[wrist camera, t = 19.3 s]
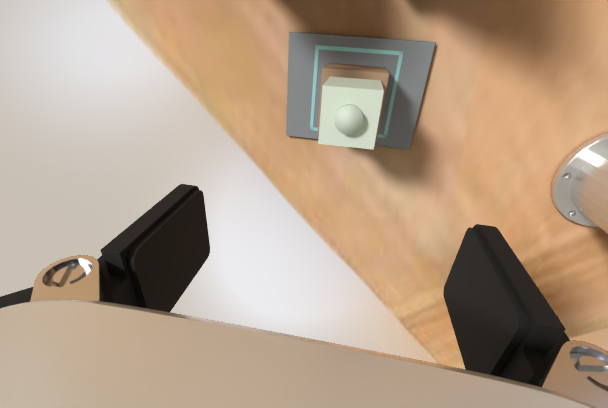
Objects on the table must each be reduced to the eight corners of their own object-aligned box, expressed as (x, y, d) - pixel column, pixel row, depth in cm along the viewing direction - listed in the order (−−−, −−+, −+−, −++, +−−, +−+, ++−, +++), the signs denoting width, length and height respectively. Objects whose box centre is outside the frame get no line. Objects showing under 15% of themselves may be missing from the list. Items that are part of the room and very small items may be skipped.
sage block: (380, 80, 30) (384, 91, 24) (372, 130, 32) (373, 152, 26) (329, 76, 30) (321, 86, 24) (325, 126, 33) (317, 146, 27)
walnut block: (385, 67, 34) (389, 73, 29) (375, 124, 38) (377, 138, 32) (328, 62, 35) (322, 67, 30) (323, 119, 38) (317, 132, 33)
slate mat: (434, 41, 33) (435, 42, 32) (408, 147, 39) (409, 149, 38) (290, 32, 35) (289, 32, 34) (287, 134, 41) (286, 135, 40)
